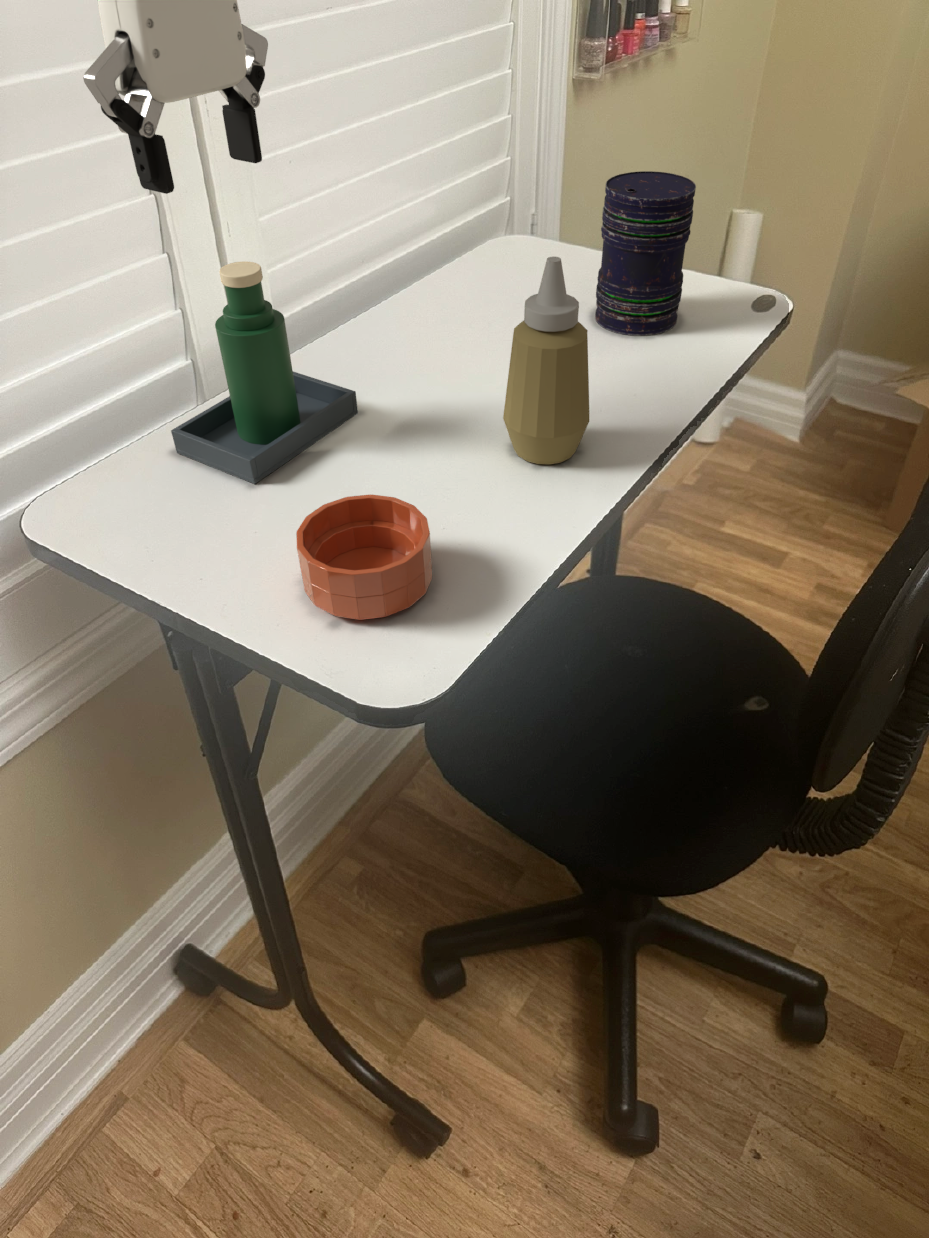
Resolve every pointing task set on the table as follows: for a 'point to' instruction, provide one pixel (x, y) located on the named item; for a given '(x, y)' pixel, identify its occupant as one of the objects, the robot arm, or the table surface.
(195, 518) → the table surface
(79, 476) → the table surface
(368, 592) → the bowl
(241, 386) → the bottle
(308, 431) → the tray
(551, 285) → the squeeze bottle
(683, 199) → the oil drum
